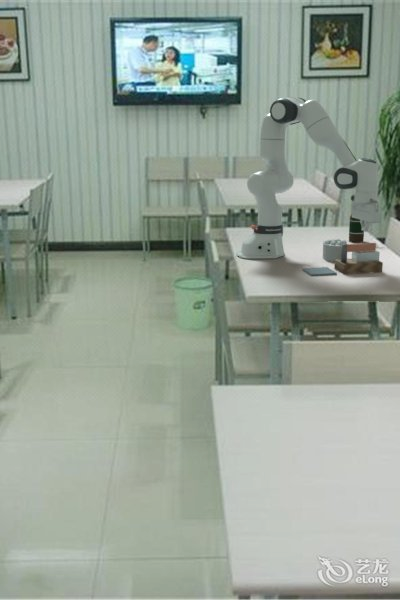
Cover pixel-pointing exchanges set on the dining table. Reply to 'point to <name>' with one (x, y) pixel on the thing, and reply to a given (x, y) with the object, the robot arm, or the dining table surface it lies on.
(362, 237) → the beer bottle
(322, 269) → the pad
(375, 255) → the grey-blue rectangular block
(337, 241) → the paw pad
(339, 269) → the body
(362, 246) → the cam lever
